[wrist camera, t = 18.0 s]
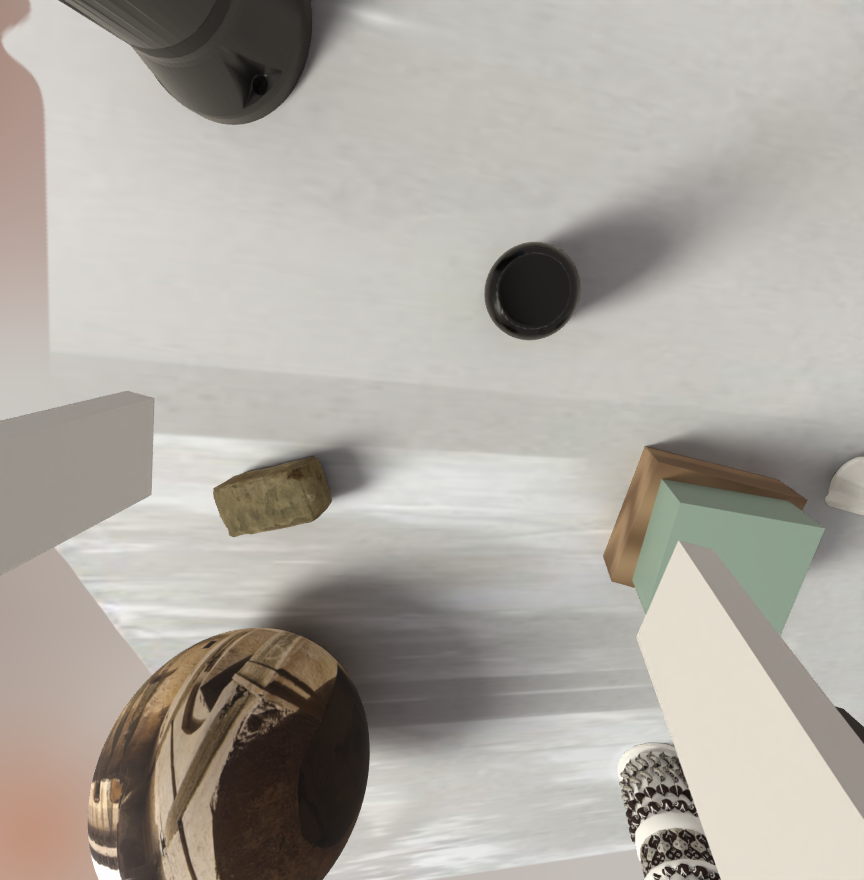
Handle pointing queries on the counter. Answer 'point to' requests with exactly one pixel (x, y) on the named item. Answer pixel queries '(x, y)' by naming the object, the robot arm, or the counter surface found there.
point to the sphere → (232, 765)
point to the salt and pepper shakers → (848, 487)
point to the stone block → (273, 497)
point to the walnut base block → (644, 492)
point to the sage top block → (732, 542)
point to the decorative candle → (663, 815)
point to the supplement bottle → (532, 291)
